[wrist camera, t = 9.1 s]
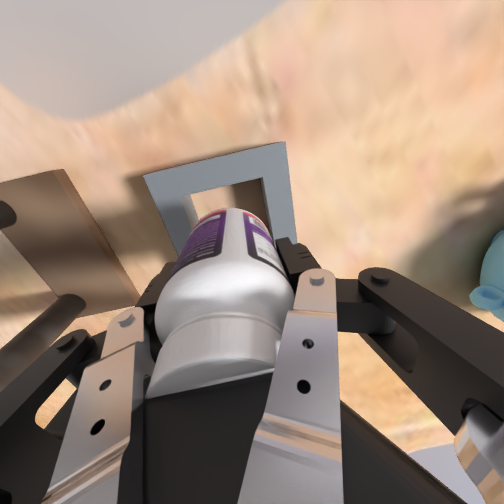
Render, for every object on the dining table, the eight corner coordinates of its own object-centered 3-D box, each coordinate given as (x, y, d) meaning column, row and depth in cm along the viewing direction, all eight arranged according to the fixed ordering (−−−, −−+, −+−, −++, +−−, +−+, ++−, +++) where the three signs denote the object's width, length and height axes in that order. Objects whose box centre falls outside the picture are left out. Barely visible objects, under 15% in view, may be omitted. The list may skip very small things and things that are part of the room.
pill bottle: (192, 277, 15) (132, 460, 6) (188, 203, 12) (77, 333, 4) (266, 279, 15) (306, 449, 7) (276, 208, 13) (358, 333, 4)
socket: (292, 250, 22) (300, 265, 19) (197, 271, 22) (192, 288, 20) (277, 142, 17) (285, 141, 14) (156, 171, 17) (142, 175, 15)
